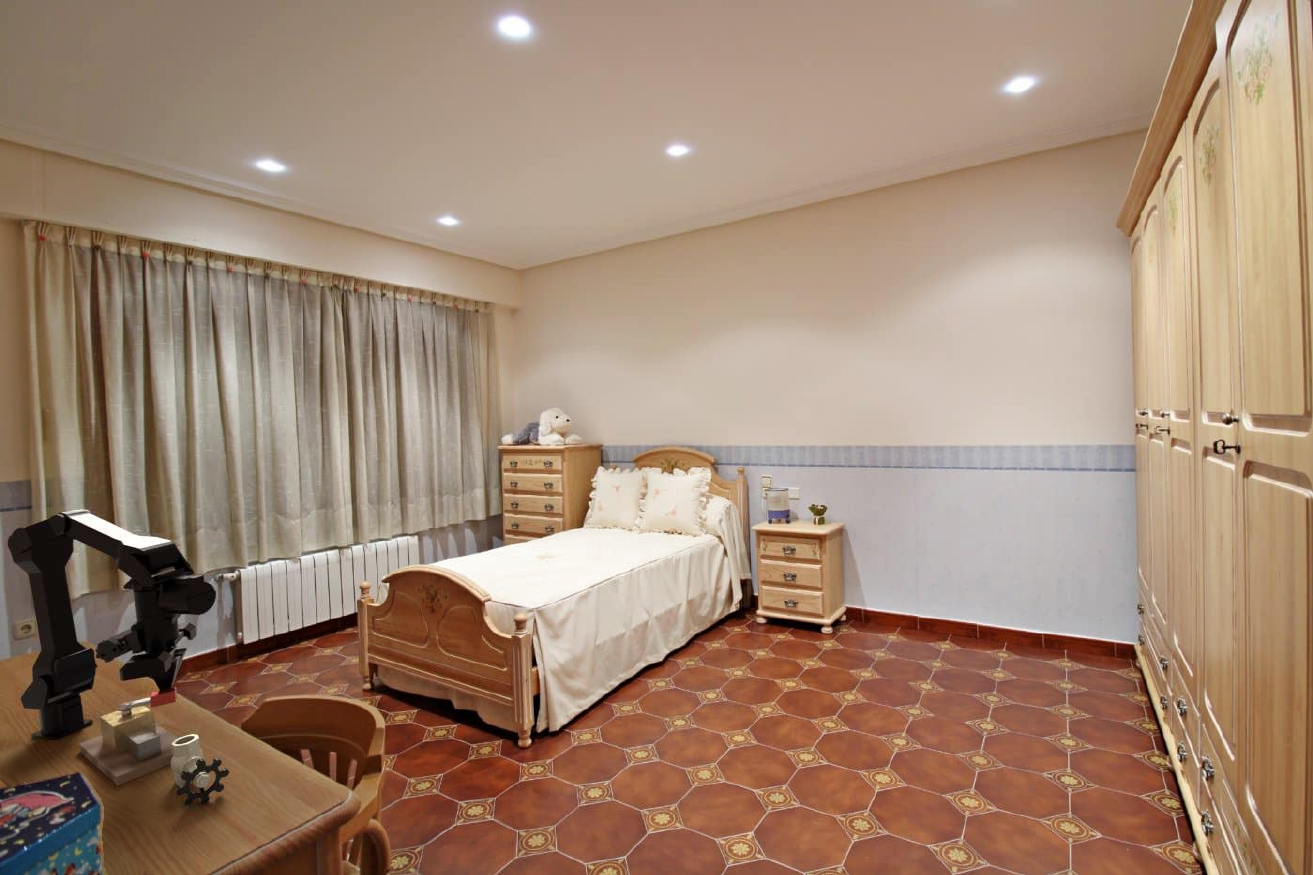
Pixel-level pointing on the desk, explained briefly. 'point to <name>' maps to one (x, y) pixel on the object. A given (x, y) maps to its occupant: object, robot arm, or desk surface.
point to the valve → (194, 770)
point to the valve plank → (127, 758)
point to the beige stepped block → (131, 732)
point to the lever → (153, 699)
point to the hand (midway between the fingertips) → (166, 694)
